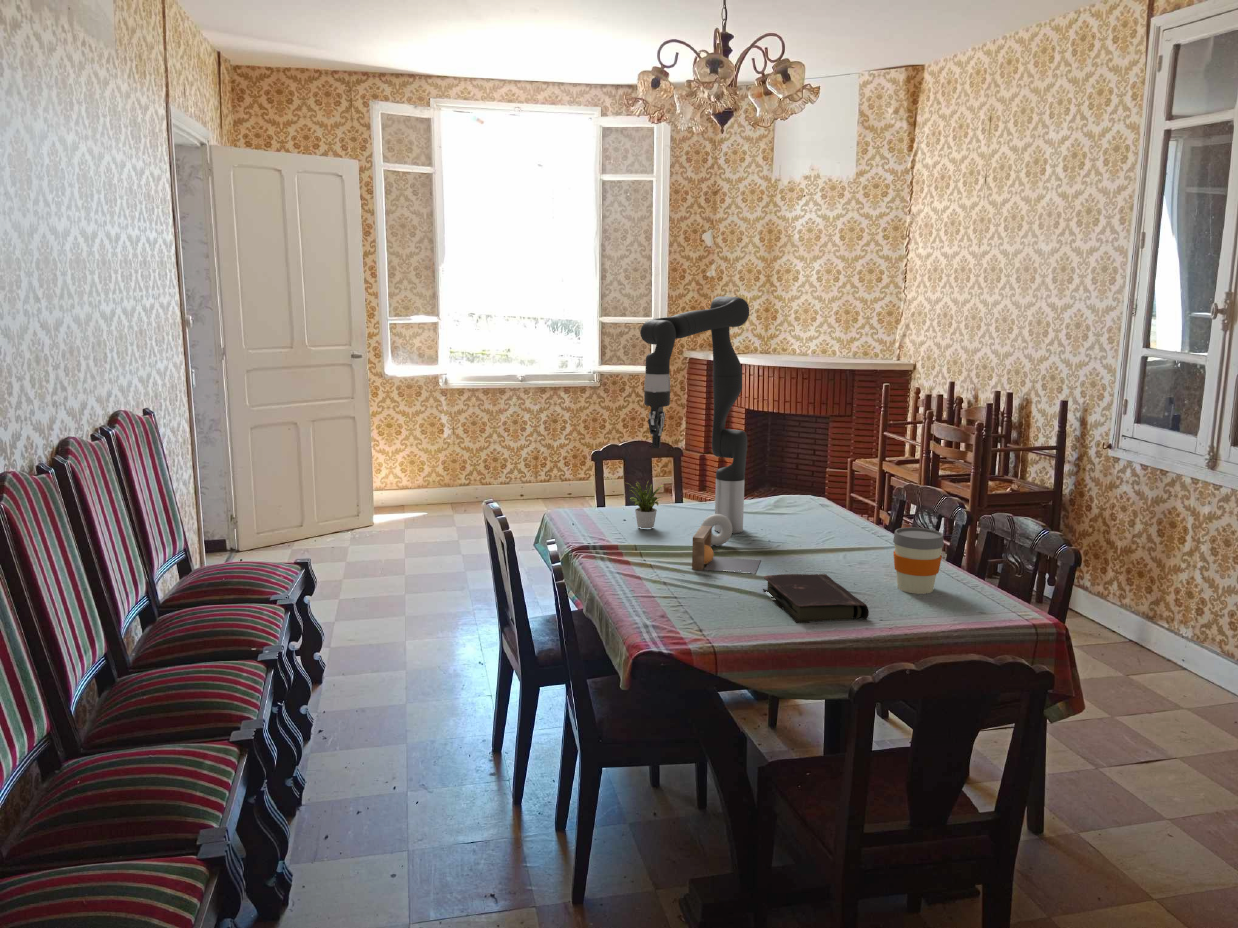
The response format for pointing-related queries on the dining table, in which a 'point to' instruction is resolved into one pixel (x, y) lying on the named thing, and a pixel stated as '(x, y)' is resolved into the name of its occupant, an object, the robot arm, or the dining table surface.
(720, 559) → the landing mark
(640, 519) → the house plant
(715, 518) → the donut
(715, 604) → the dining table surface
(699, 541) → the bridge
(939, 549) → the reusable coffee cup
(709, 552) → the ball
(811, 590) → the diary
